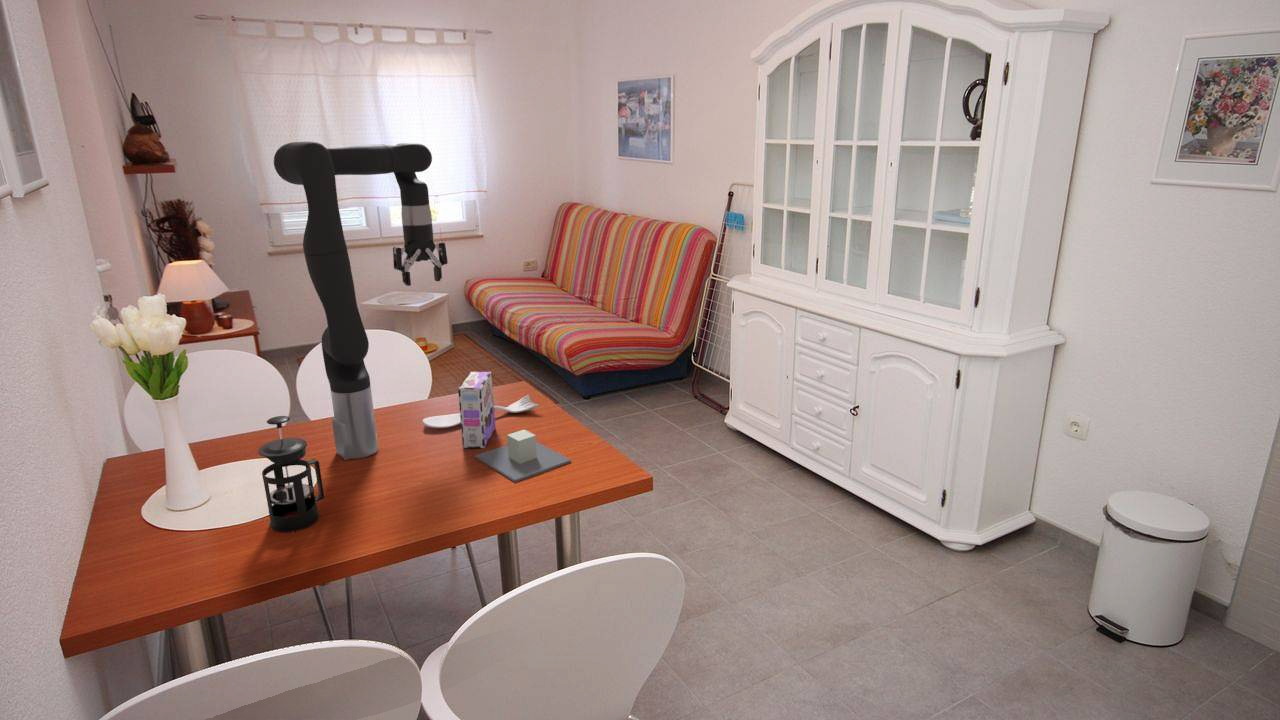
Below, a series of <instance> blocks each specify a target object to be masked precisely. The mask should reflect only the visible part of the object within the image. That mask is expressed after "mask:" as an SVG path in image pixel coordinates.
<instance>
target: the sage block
mask: <svg viewBox="0 0 1280 720" xmlns="http://www.w3.org/2000/svg"><path fill="white" fill-rule="evenodd" d="M506 438H507V440H506V441H507V445H508V457H509V458H510V459H512V460H514V461H516V462H517V463H519V464H521V463H524V462H527V461H529V460H532V459H535V458H537V448H536V442H537V435H536V434H534V433H532V432H531V431H529V430H526V429H520V430H518V431H515V432H512V433H508V434H507V435H506Z"/></svg>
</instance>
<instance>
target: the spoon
mask: <svg viewBox="0 0 1280 720" xmlns="http://www.w3.org/2000/svg"><path fill="white" fill-rule="evenodd" d="M539 407H540V403H534V402H533V401H532V399H531V396H530V395H529V394H528V395H525V396H523V397H521V398H520V399H519V400H516V401H515V402H513V403H511V404H509V405H508V406H507V407H505V406H500V405H494V410H498V411H502V412H507V413H509V414H510V413H512V414H516V413H518V414H519V413H523V412H526V411H527V412H528V411H531V410H535V409H537V408H539ZM422 424H423V425H424V426H425V427H429V428H433V429H450V428H452V427H455V426H457V425H461V418H460V412H459V413H451V414H443V415H435V416H434V415H433V416H428V417H425V418H423V419H422Z"/></svg>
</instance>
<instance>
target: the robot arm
mask: <svg viewBox="0 0 1280 720" xmlns="http://www.w3.org/2000/svg"><path fill="white" fill-rule="evenodd" d="M432 162H433V156H432V152H431V151H430V149H429V148H428V147H427V146H425V144H422V143H418V142H415V143H414V142H413V143H412V142H410V143H409V142H407V143H406V142H403V143H402V142H400V143H397V144H395V145H394V144H381V143H378V144H360V145H351V146H343V147H325V146H324V145H323V144H322V143H320V142H318V141H313V140H312V141H310V140H309V141H293V142H288V143H285V144H283V145H281V146H280V147H279V148H278V149H277V150H276V151H275V154H274V156H273V166H274V170H275V172H276V173H277V174H278V176H279V177H280V178H281V179H282V180H284V181H285V182H287V183H289V184H293V185H297V186H303V190H304V193H305V197H306V203H307V220H306V224H305V228H304V229H305V230H304V233H303V239H302V240H303V241H302V248H303V254H304V259H305V263H306V267H307V271H308V274H309V278H310V279H311V282H312V285H313V288H314V289H315V292H316V294H317V296H318V298H319V300H320V303H321V305H322V307H323V309H324V314H325V317H326V323H327V327H326V328H325V329H324V331H323V333H322V336H321V351H322V356H323V363H324V370H325V374H326V377H327V380H328V383H329V387H330V394H331V402H332V410H333V417H332V418H331V423H332V429H333V430H332V431H333V435H334V436H333V437H334V443H335V449H336V450H335V453H337V454H338V456H340V457H341V458H342V459H344V460H352V459H355V460H356V459H361V458H365V457H366V458H367V457H370V456H371V455H374V454H376V453H377V452H378V451H379V443H378V436H377V428H376V427H377V426H376V420H375V419H376V418H375V410H374V403H373V394H372V385H371V378H370V374H369V373H368V370H367V367H366V365H365V360H364V359H365V358H366V356H367V355H368V351H369V348H370V347H369V343H370V342H369V338H368V335H367V333H366V330H365V327H364V323H363V320H362V318H361V315H360V314H361V313H360V311H359V308H358V303H357V297H356V289H355V283H354V278H353V274H352V273H353V272H352V266H351V261H350V257H349V251H348V247H347V243H346V239H345V236H344V235H345V234H344V230H343V224H342V218H341V213H340V207H339V202H338V192H337V191H338V190H337V183H336V176H349V175H350V176H357V175H358V176H370V175H372V176H373V175H375V176H376V175H383V174H384V175H385V174H392V173H393V175H394V177H395V180H396V183H397V186H398V188H399V192H400V204H401V212H400V213H401V215H400V216H401V222H402V224H401V225H402V232H403V233H402V234H403V241H404V244H403V246H399V247H398V246H393V248H392V255H393V256H392V257H393V260H392V262H393V269H394V270H397V271H400V272H401V276H402V283H403V284H404V285H405V286H406V287H410V286H412V283H411V282H412V281H411V272H410V269H411V267H412V266H413V265H414V264H415V262H417V263H418V262H422V261H425V262H426V261H429V262H430V263H431V264H432V265H433V277H434V278H433V279H434V281H435V282H440V281H441V280H442V278H443V274H442V267H443V266H444V265H447V264H448V263H449V262H448V255H447V249H446V243H445V242H442V241H437V242H436V243H435V242H434V229H433V217H432V211H431V206H430V199H429V198H430V195H429V188H428V185H427V183H425V182H424V181H422V180H419V178H418V177H417V175H416V173H422V172H425V171H426V170H428V169H429V168H430V166H431V164H432ZM435 249H436V251H437V255H438V257H437V255H435V254H434V251H435ZM404 253H405V254H406V256H405V258H404V259H402V257H403V254H404ZM402 260H403V261H402Z"/></svg>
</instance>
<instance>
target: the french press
mask: <svg viewBox="0 0 1280 720" xmlns="http://www.w3.org/2000/svg"><path fill="white" fill-rule="evenodd" d="M290 420H291V418H290V417H289V416H287V415H278V416H273V417H271V418H269V419H267V420H266V423H267V424H268V425H276V428H277V429H278V433H279V439H275V440H272V441H269V442H267V443H264V444H262V445H261V446H260V447H259V448H258V450H257V453H258V455H260V456H261V457H265V458H266V459H267V460H269V461H270V462H271V463H272V464H270V465H268V466H266V467H265V468H264V469H263V470H262V472H261V475H262V479H263V480H262V481H263V485H264V491H265V497H266V501H267V508H268V516H269V521H270V522H269V527H270V529H271V528H272V529H273V530H272V529H271V530H272V531H274V532H277V531H279V532H278V533H293V532H292V531H294V532H297V530H299V531H302V530H305V529H307V528H309V527H311V526H313V525H314V524H316V523H317V522H316V521H318V520H319V519H320V512H319V511H318V506H317V502H318V501H321V500H323V499H325V493H324V486H323V479H322V474H321V466H320V461H319V460H317V459H316V458H312V459H309V460H306V459H302V458H304V457H305V456H306V454H307V451H306V447H307V446H308V441H307V440H306V439H303V438H300V437H285V438H283V434H282V428H283V424H285V423H286V422H289V421H290ZM313 464H314V470H315V476H316V483H317V489H318V495H316V496H315V490H314V483H313V476H312V467H311V465H313ZM291 466H301V467H302V466H303V467H305V470H304V471H301V472H300V473H297V474H294V475H291V476H289V471H288V467H291ZM283 468H285V475H286V477H285V475H284V470H283ZM272 471H273V474H274V477H269V476H266V475H268V474H269V473H271V472H272ZM306 477H307V484H306V483H303V479H305V478H306ZM269 485H275V486H276V487H275V488H276V489H274V490H272V491H271V492H270V488H269V487H270V486H269ZM293 513H297V514H296V515H292V516H286V515H289V514H293ZM304 528H305V529H304ZM301 529H302V530H301Z"/></svg>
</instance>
